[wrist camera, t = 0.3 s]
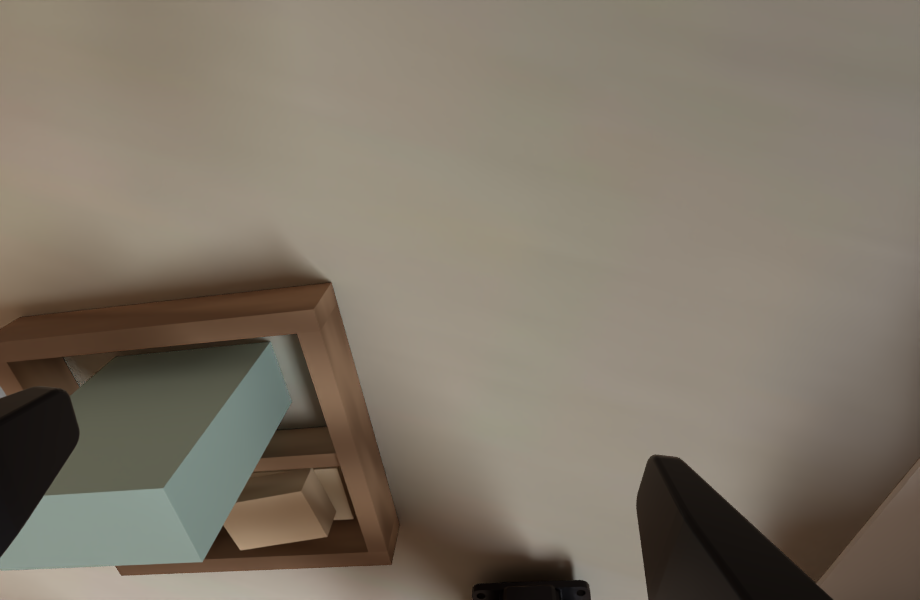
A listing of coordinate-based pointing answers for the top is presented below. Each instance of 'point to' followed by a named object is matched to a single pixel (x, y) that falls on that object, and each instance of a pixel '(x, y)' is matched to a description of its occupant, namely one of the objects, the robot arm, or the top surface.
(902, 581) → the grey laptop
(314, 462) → the tray
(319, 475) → the offcut
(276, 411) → the tall sage green box
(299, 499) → the offcut
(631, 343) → the top surface
